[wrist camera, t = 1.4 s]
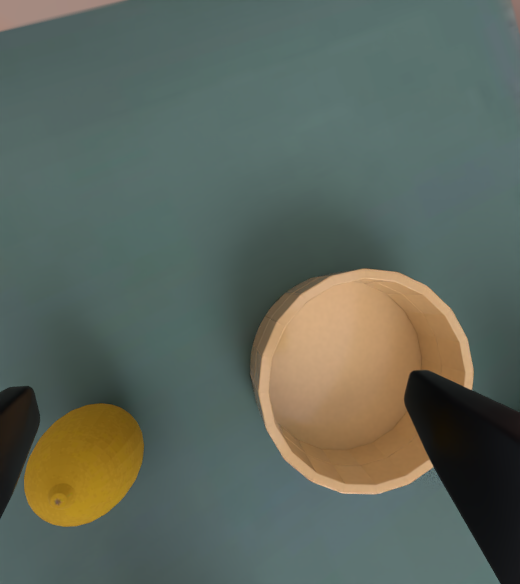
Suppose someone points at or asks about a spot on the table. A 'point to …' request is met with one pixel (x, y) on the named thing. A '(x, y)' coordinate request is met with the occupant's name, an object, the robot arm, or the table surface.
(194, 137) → the table surface
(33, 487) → the lemon
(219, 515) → the table surface
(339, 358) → the cream yellow bowl
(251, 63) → the table surface
